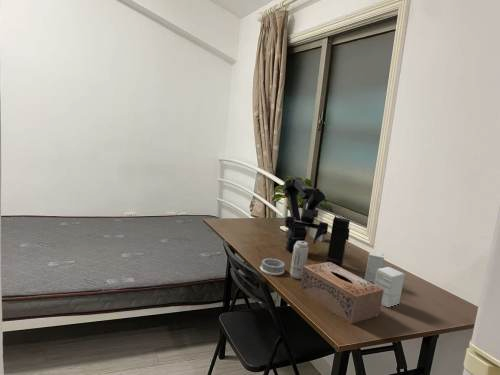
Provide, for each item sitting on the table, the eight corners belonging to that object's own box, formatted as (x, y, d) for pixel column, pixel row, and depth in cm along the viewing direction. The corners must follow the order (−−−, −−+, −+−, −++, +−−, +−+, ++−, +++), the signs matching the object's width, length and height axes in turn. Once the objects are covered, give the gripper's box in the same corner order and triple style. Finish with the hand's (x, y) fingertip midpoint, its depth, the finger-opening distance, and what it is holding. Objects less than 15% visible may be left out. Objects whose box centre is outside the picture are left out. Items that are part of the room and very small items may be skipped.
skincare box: (364, 281, 156) (369, 254, 154) (364, 277, 160) (368, 251, 158) (379, 284, 154) (384, 257, 152) (378, 280, 159) (383, 254, 156)
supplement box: (383, 296, 143) (388, 266, 141) (399, 305, 137) (405, 273, 135) (370, 299, 139) (376, 268, 137) (387, 308, 133) (393, 276, 131)
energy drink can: (286, 275, 152) (291, 241, 150) (295, 272, 157) (300, 239, 154) (298, 280, 148) (303, 246, 146) (306, 277, 153) (312, 243, 150)
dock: (278, 265, 163) (279, 258, 162) (288, 274, 153) (289, 267, 153) (257, 265, 160) (257, 258, 159) (265, 275, 150) (266, 267, 149)
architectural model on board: (325, 242, 207) (328, 225, 205) (321, 242, 205) (323, 225, 203) (312, 235, 216) (314, 220, 214) (308, 236, 215) (310, 220, 213)
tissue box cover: (378, 315, 128) (383, 289, 126) (351, 324, 119) (356, 296, 118) (326, 284, 148) (329, 261, 147) (299, 290, 140) (303, 266, 139)
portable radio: (344, 265, 172) (353, 214, 167) (342, 269, 166) (351, 217, 162) (328, 261, 175) (336, 211, 171) (325, 265, 170) (333, 213, 165)
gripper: (288, 198, 161) (281, 228, 153) (331, 205, 157) (326, 236, 148) (289, 212, 170) (282, 241, 162) (329, 218, 166) (324, 249, 157)
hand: (303, 241), depth 157 cm, fingers open, 9 cm apart
